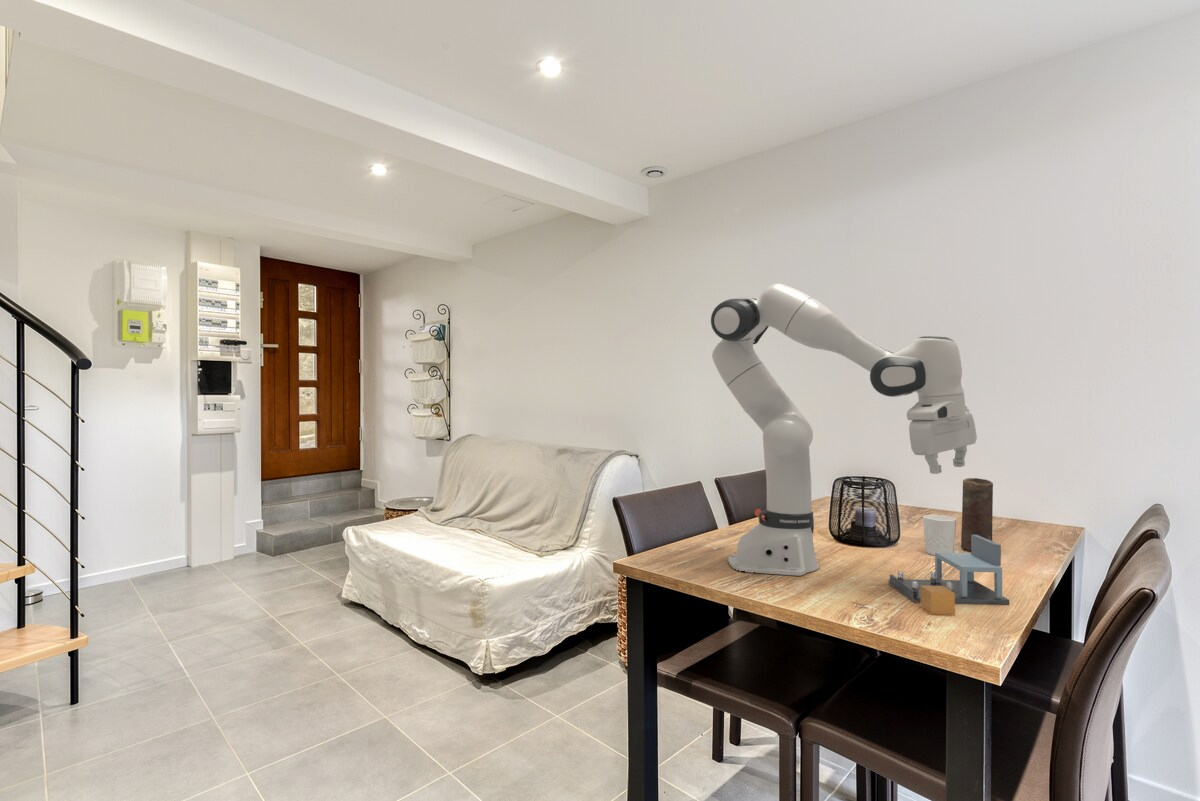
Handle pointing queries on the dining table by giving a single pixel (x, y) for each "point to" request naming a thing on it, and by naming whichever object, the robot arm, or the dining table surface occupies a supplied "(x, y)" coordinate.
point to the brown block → (937, 600)
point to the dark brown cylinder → (976, 510)
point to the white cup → (939, 533)
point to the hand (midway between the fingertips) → (947, 469)
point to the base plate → (974, 589)
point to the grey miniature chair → (974, 563)
